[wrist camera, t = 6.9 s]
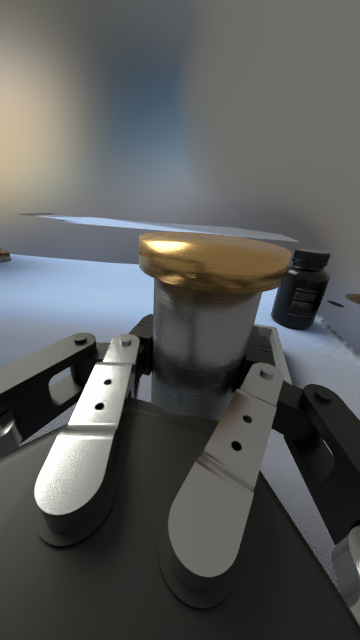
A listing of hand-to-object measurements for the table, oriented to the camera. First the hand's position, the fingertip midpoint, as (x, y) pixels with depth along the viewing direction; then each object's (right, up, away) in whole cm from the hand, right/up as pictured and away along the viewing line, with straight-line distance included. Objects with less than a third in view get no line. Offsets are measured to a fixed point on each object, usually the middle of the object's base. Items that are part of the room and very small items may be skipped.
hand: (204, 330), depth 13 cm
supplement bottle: (+18, 0, +26) cm, 31 cm away
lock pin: (-1, -7, +1) cm, 7 cm away
